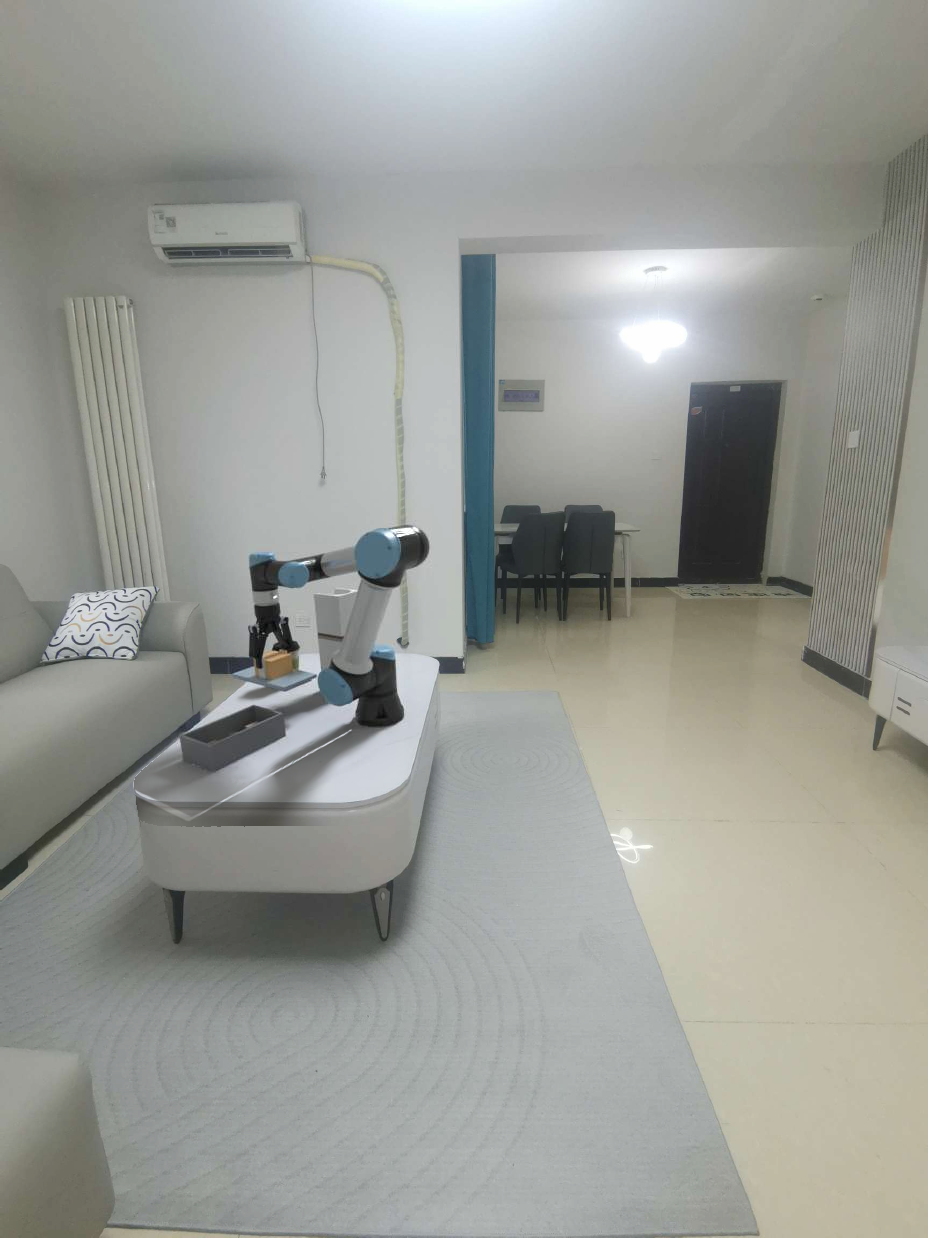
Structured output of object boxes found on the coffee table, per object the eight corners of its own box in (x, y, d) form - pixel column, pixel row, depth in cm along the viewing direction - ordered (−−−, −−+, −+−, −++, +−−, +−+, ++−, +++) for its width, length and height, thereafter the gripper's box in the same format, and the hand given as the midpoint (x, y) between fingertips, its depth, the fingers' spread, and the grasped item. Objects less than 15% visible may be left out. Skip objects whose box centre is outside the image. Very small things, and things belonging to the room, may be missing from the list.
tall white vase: (367, 685, 212) (360, 590, 203) (346, 695, 203) (338, 596, 194) (343, 680, 218) (336, 587, 209) (322, 689, 209) (313, 593, 200)
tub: (286, 738, 171) (283, 713, 169) (213, 775, 152) (209, 746, 150) (256, 729, 178) (253, 704, 176) (183, 763, 159) (179, 735, 157)
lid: (266, 667, 197) (263, 645, 195) (317, 680, 185) (315, 656, 183) (233, 679, 187) (230, 655, 185) (284, 693, 174) (282, 668, 172)
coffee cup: (278, 689, 210) (273, 649, 207) (273, 681, 219) (269, 642, 215) (306, 684, 215) (302, 645, 211) (300, 676, 223) (296, 638, 220)
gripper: (246, 611, 169) (255, 686, 175) (301, 597, 186) (307, 665, 192) (229, 608, 173) (238, 681, 179) (284, 595, 190) (291, 662, 196)
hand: (274, 673), depth 185 cm, fingers closed on lid, 8 cm apart
